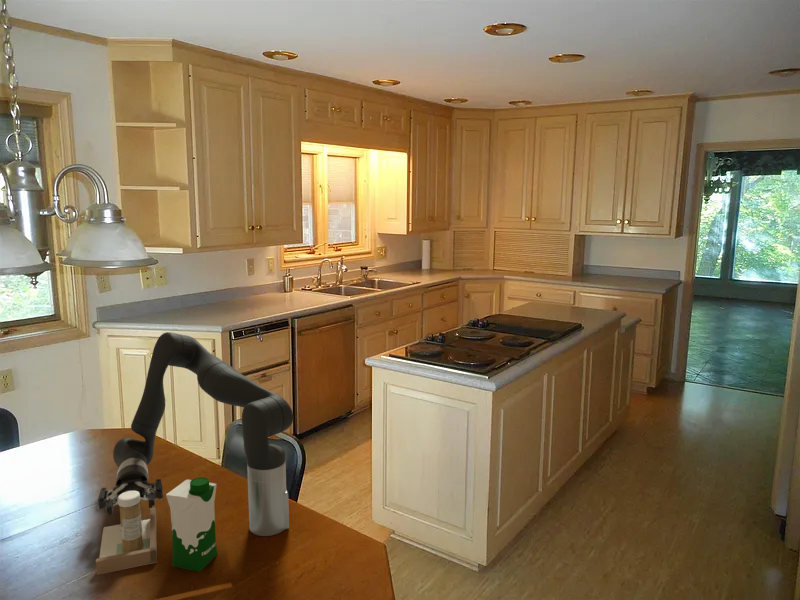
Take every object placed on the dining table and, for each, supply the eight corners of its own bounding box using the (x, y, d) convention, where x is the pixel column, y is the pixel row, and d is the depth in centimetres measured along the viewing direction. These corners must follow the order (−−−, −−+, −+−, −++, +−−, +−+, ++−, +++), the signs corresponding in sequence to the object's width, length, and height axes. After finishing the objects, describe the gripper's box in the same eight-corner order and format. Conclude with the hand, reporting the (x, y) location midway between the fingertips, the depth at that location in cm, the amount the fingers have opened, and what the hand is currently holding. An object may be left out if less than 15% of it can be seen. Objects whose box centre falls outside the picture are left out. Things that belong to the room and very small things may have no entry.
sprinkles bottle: (126, 543, 140) (122, 490, 137) (146, 542, 140) (142, 489, 138) (119, 555, 135) (114, 499, 133) (139, 553, 136) (135, 499, 133)
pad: (149, 538, 142) (149, 538, 142) (149, 555, 136) (149, 554, 136) (117, 544, 139) (117, 544, 139) (115, 561, 133) (115, 560, 133)
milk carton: (201, 578, 129) (196, 492, 126) (165, 570, 131) (160, 486, 128) (223, 555, 137) (220, 474, 134) (189, 548, 140) (185, 468, 136)
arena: (156, 520, 151) (155, 506, 151) (156, 565, 133) (155, 549, 132) (103, 530, 147) (102, 516, 146) (97, 577, 129) (95, 561, 128)
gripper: (100, 468, 151) (95, 498, 136) (161, 459, 156) (162, 487, 141) (102, 496, 152) (97, 528, 137) (162, 486, 157) (164, 516, 143)
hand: (130, 507), depth 139 cm, fingers open, 8 cm apart
